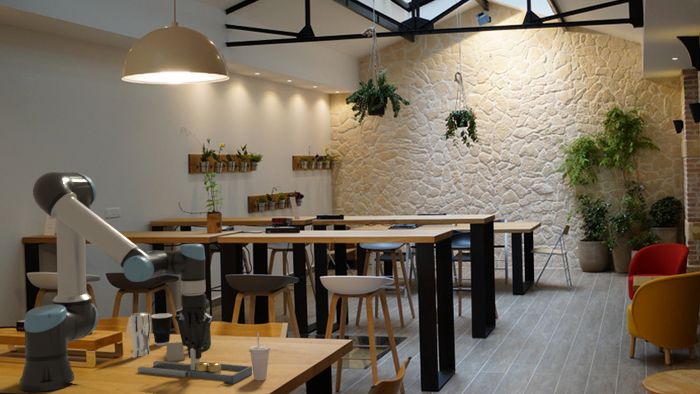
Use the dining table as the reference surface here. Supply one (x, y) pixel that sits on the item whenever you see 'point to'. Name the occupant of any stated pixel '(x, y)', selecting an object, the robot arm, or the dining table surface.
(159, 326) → the dixie cup
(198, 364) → the gold rounded block
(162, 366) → the slot plate
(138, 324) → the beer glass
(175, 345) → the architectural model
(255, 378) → the smoothie
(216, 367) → the gold rounded cube
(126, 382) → the dining table surface
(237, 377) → the blue-grey rectangular frame
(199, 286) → the robot arm
